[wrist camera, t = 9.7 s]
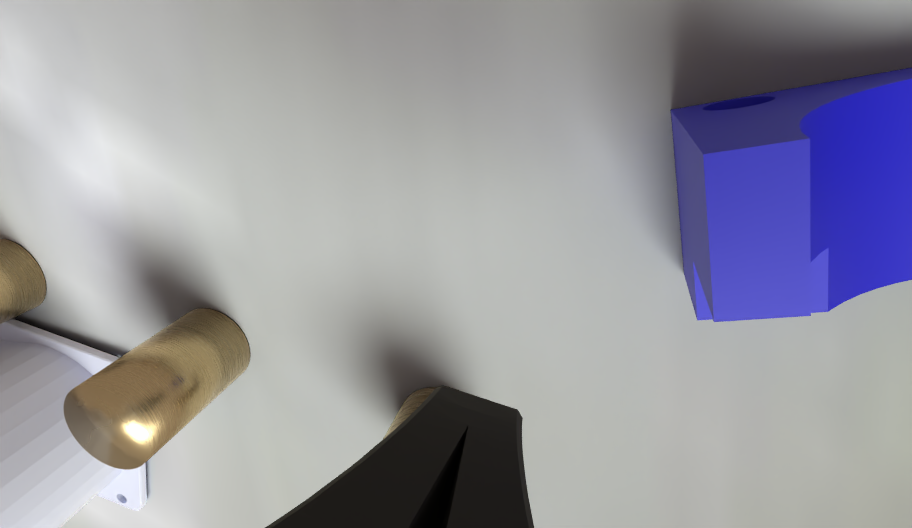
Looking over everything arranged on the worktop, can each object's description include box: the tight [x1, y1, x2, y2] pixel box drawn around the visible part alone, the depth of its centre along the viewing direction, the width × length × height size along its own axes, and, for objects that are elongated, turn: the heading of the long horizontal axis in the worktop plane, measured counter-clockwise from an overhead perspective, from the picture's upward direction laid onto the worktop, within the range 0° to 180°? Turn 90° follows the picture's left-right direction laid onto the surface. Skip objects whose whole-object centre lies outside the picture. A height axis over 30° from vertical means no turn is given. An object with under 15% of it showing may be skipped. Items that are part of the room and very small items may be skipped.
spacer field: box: [0, 239, 437, 470], centre depth 15 cm, size 21×23×5 cm
